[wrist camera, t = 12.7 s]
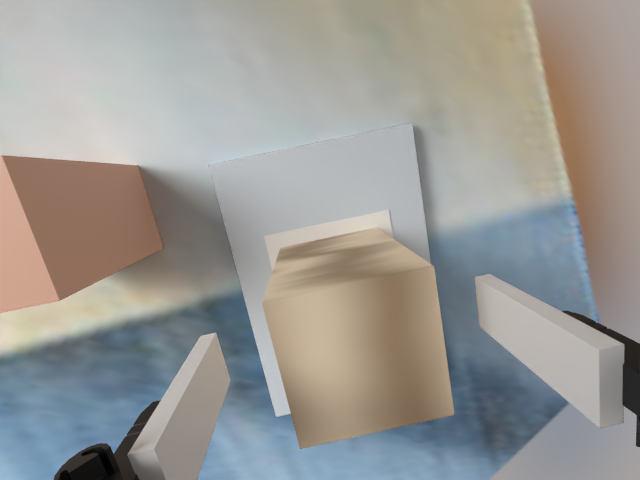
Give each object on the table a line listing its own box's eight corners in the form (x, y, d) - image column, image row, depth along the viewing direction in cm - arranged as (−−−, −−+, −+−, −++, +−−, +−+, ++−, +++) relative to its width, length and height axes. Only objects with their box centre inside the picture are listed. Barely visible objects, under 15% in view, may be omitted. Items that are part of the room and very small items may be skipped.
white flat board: (277, 407, 26) (276, 417, 25) (212, 165, 22) (207, 164, 21) (441, 372, 26) (447, 380, 25) (407, 125, 22) (412, 122, 21)
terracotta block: (83, 264, 23) (-83, 330, 13) (52, 183, 22) (-156, 187, 12) (164, 247, 23) (59, 300, 13) (138, 165, 22) (2, 155, 12)
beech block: (301, 336, 24) (300, 449, 14) (280, 247, 22) (262, 303, 12) (391, 316, 24) (454, 414, 14) (376, 227, 22) (434, 266, 12)
